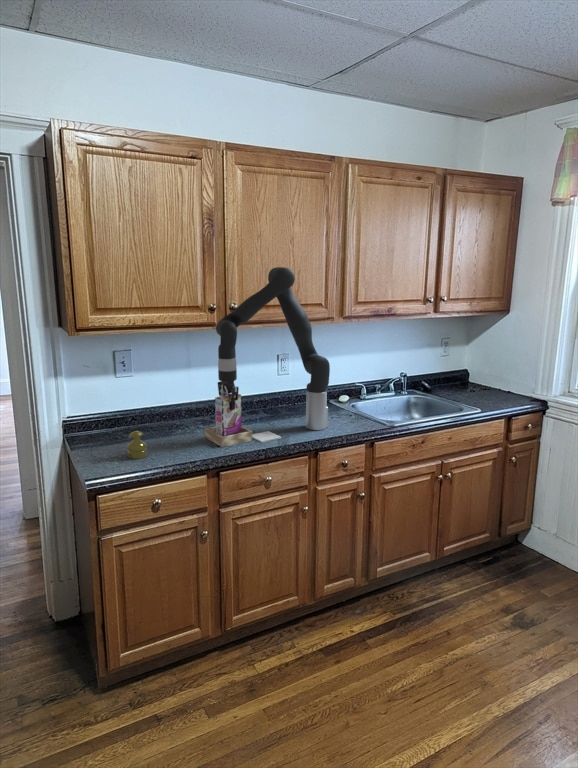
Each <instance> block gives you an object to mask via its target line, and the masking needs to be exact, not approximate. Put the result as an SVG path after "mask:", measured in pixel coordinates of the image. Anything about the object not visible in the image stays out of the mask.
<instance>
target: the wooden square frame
mask: <svg viewBox="0 0 578 768" xmlns="http://www.w3.org/2000/svg"><path fill="white" fill-rule="evenodd" d="M204 430H205V431H204V432H205V434H204V437H205V438H206V439H207V440H209V441H211V442H212V443H214V444H216V445H218V446H220V447H221V448H222V447H228V446H233V445H238V444H242V443H247V442H251V441H253V438H252V434H253V430H250V429H248V428H247V427H244V426H242V425H241V431H240V432H237V433H234V434H231V435H228V436H223V437H222V436H220V435H218V434H216V426H212V427H206V428H204Z"/></svg>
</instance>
